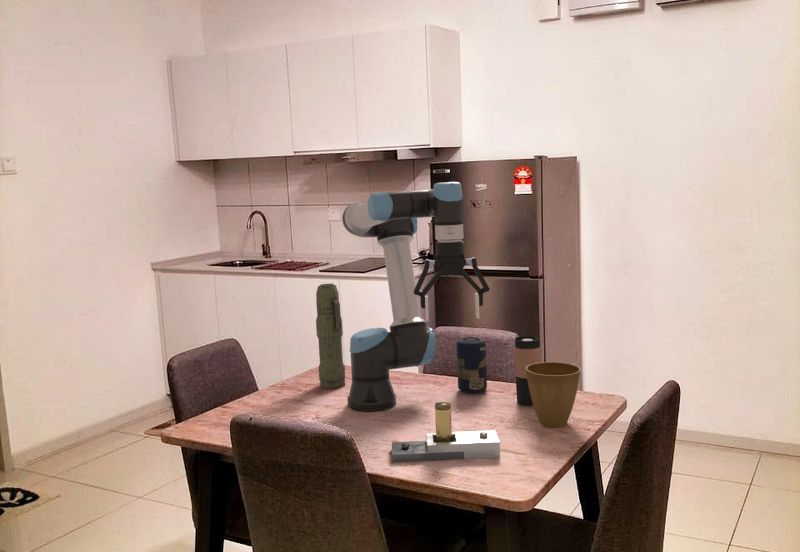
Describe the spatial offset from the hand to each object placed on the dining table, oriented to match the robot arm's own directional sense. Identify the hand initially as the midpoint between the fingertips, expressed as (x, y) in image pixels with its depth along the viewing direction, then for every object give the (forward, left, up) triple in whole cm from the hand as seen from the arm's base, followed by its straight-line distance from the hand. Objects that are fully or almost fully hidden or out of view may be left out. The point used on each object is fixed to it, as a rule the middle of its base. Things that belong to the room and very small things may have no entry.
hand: (452, 319), depth 212 cm
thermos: (-65, +11, -32) cm, 73 cm away
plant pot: (+17, +22, -32) cm, 42 cm away
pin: (+8, -14, -32) cm, 36 cm away
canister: (-22, +34, -32) cm, 52 cm away
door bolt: (+8, -14, -32) cm, 36 cm away
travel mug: (0, +34, -32) cm, 47 cm away
